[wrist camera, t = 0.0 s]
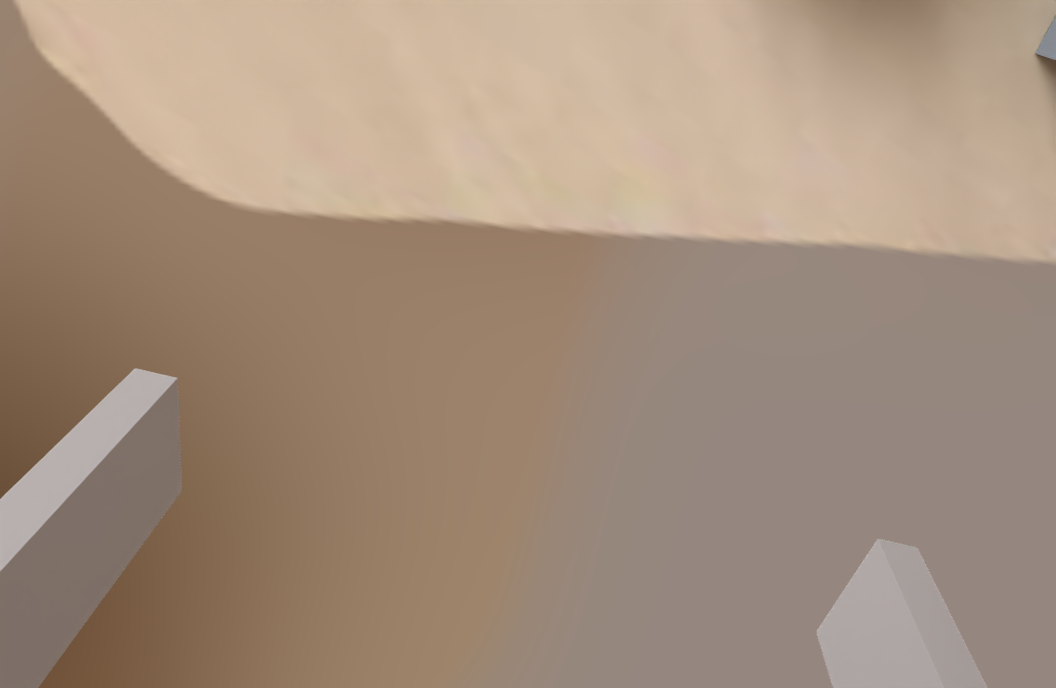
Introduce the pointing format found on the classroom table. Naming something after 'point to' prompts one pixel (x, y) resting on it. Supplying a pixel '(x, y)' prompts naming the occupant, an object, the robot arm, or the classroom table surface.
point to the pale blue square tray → (1049, 43)
